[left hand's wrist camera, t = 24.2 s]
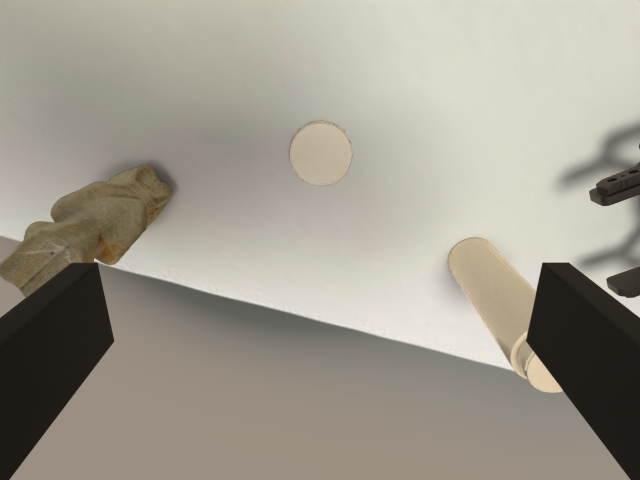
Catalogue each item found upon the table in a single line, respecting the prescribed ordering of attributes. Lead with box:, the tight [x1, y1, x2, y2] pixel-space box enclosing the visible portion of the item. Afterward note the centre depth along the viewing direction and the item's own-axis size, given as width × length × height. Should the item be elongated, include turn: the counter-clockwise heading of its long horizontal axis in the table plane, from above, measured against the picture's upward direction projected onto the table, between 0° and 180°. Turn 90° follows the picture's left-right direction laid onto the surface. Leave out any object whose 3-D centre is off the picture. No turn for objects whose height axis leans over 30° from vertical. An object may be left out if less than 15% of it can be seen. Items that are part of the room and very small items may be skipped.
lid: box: [289, 120, 353, 186], centre depth 37 cm, size 5×5×2 cm
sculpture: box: [0, 164, 172, 298], centre depth 32 cm, size 6×7×15 cm
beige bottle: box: [448, 238, 563, 392], centre depth 34 cm, size 5×5×16 cm
